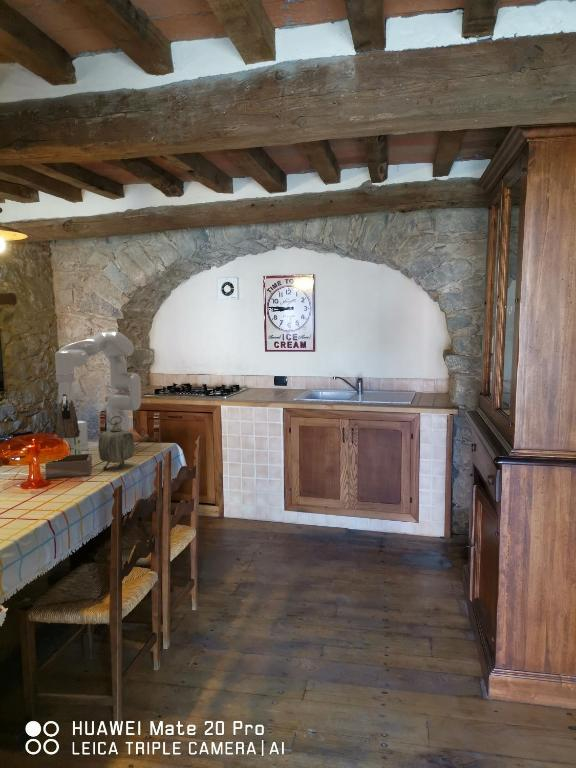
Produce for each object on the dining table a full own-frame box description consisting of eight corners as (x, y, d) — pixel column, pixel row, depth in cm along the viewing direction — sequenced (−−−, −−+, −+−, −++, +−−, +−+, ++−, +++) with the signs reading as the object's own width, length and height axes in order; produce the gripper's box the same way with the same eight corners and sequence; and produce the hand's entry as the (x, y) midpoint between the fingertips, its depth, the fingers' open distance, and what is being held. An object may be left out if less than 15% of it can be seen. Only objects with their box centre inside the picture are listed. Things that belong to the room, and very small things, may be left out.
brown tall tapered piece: (61, 439, 232) (58, 383, 230) (55, 437, 237) (52, 383, 236) (81, 436, 238) (78, 382, 236) (74, 435, 243) (71, 381, 242)
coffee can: (60, 457, 269) (58, 430, 268) (81, 455, 273) (80, 428, 271) (58, 461, 260) (57, 434, 258) (81, 460, 263) (79, 432, 262)
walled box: (51, 470, 244) (50, 456, 243) (92, 467, 249) (91, 453, 248) (46, 479, 230) (45, 463, 230) (89, 476, 235) (88, 460, 235)
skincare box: (82, 447, 289) (81, 420, 288) (88, 449, 285) (87, 421, 284) (68, 450, 283) (66, 422, 281) (74, 452, 279) (73, 423, 277)
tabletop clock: (123, 463, 257) (121, 413, 255) (136, 465, 253) (134, 414, 250) (99, 470, 245) (97, 417, 242) (112, 472, 240) (110, 419, 238)
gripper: (59, 376, 242) (60, 415, 244) (53, 380, 225) (55, 421, 227) (76, 376, 244) (78, 414, 246) (72, 380, 227) (74, 420, 229)
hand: (67, 417), depth 237 cm, fingers closed on brown tall tapered piece, 5 cm apart
